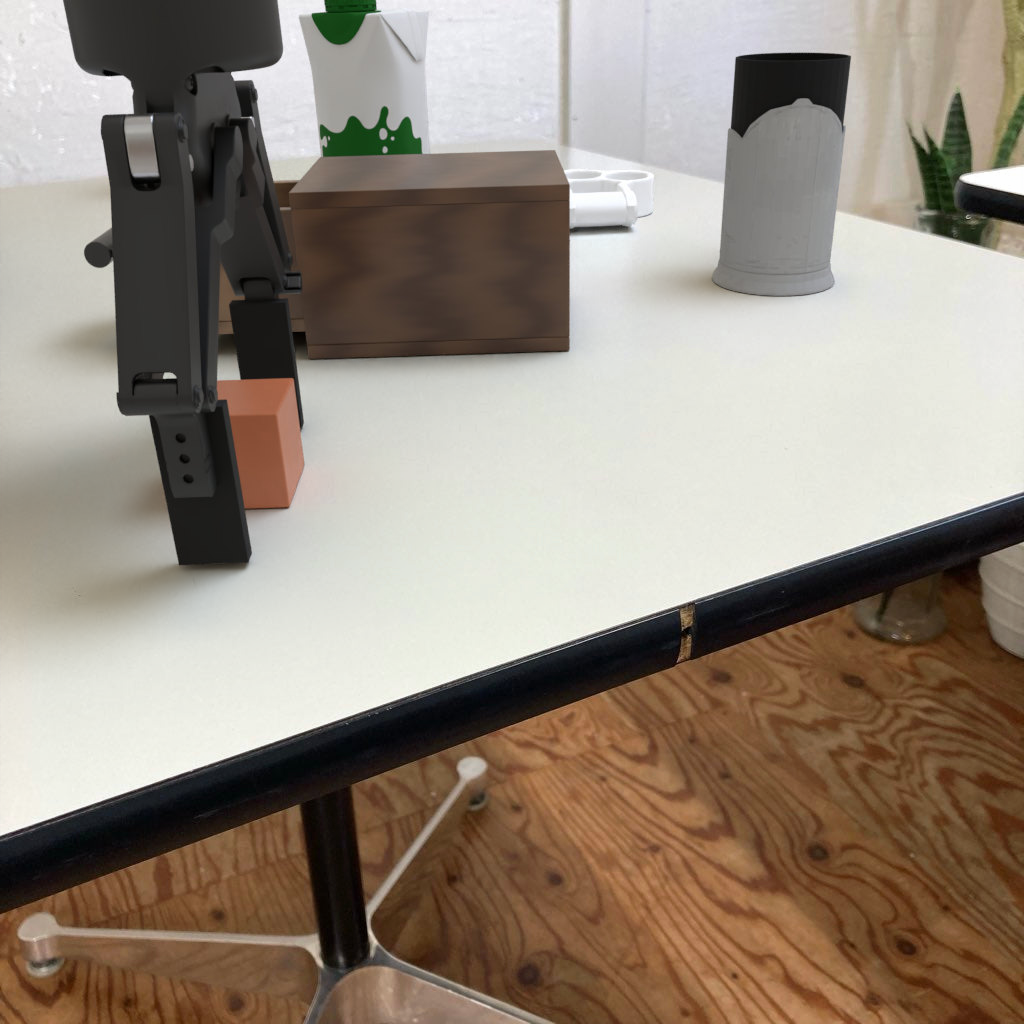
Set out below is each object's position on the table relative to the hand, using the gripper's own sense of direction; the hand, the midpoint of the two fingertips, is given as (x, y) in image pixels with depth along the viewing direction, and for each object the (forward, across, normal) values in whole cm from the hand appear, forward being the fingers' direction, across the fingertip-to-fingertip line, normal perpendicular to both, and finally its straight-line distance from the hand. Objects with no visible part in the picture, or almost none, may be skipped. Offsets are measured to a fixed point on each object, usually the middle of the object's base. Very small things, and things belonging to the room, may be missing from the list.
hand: (250, 485), depth 47 cm
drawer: (-1, +24, +4) cm, 24 cm away
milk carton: (0, +50, -2) cm, 50 cm away
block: (0, 0, 0) cm, 0 cm away
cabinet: (0, +24, -8) cm, 25 cm away
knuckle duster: (0, +56, -18) cm, 59 cm away
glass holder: (0, +35, -32) cm, 47 cm away
